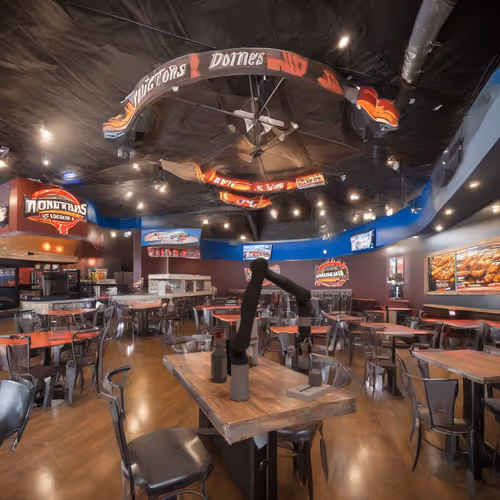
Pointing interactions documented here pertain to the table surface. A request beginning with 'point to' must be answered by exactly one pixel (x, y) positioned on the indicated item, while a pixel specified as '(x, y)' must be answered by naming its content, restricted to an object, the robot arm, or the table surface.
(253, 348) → the display case
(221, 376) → the liquor
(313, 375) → the fader knob
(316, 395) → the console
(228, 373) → the portable radio
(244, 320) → the robot arm
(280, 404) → the table surface
